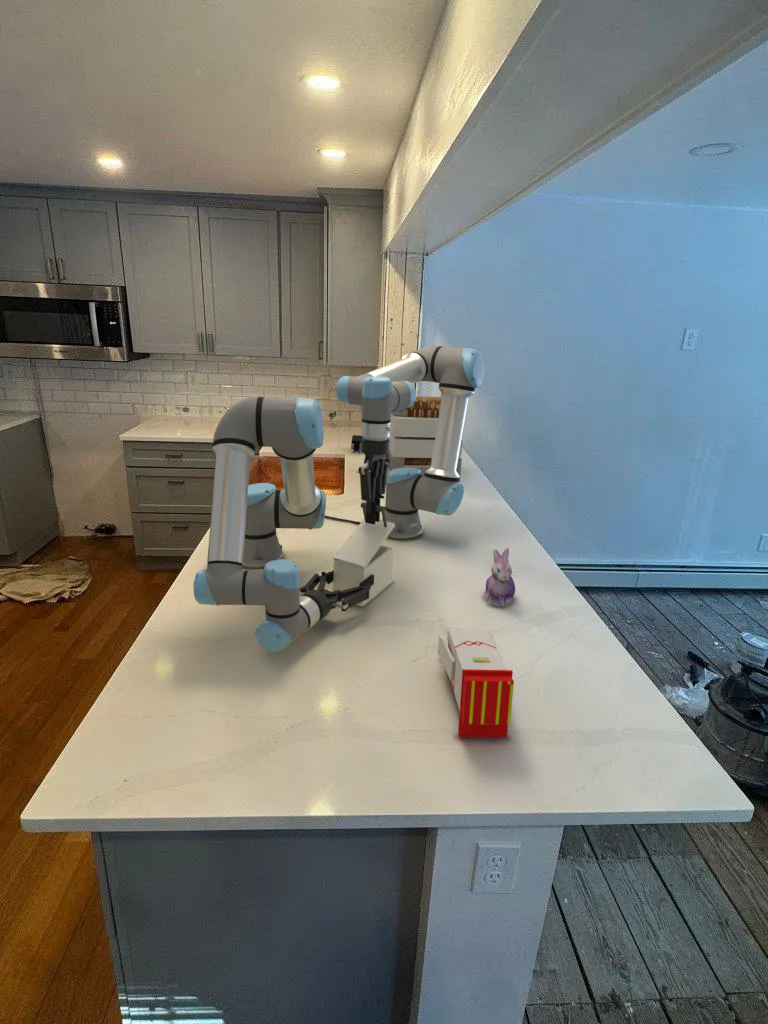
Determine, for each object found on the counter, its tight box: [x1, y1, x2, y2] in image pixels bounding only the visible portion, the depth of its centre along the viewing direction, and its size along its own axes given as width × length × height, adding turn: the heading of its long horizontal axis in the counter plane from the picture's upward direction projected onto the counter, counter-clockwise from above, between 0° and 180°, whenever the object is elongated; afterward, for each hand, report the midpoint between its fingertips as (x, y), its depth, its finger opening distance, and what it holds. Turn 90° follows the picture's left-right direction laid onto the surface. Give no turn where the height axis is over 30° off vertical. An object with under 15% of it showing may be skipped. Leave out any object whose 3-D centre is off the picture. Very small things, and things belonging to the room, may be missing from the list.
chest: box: [332, 544, 395, 608], centre depth 158 cm, size 17×9×11 cm, turn 152°
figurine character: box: [350, 434, 363, 454], centre depth 311 cm, size 7×8×15 cm
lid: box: [332, 501, 395, 569], centre depth 152 cm, size 18×9×8 cm, turn 152°
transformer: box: [385, 392, 465, 483], centre depth 268 cm, size 34×33×41 cm
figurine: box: [484, 547, 516, 607], centre depth 155 cm, size 9×10×15 cm
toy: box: [437, 628, 515, 738], centre depth 117 cm, size 12×13×30 cm
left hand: (356, 574), depth 154 cm, fingers closed on chest, 9 cm apart
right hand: (372, 521), depth 156 cm, fingers closed on lid, 2 cm apart
